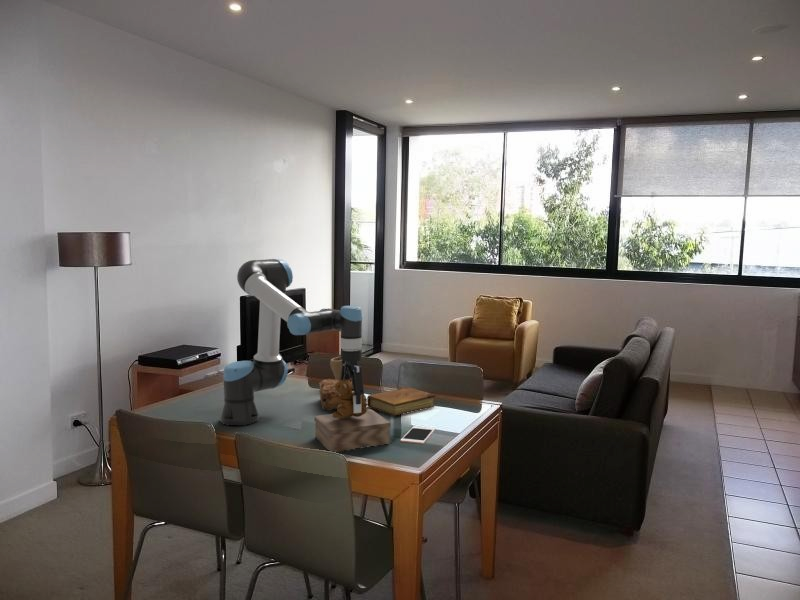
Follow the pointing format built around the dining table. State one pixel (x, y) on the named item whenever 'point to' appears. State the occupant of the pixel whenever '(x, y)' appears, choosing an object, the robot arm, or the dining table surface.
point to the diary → (400, 401)
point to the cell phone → (418, 434)
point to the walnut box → (352, 431)
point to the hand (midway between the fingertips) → (351, 408)
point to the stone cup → (337, 368)
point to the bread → (328, 393)
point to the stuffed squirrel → (346, 400)
